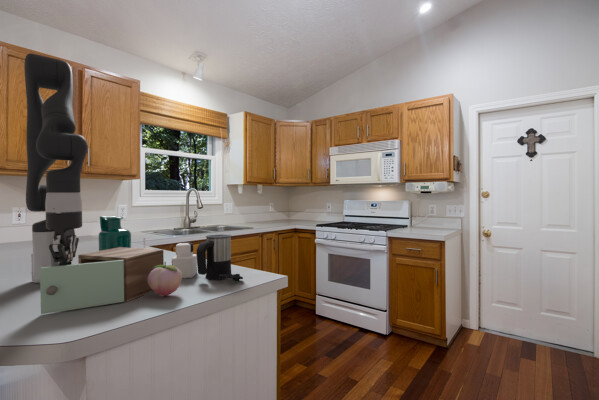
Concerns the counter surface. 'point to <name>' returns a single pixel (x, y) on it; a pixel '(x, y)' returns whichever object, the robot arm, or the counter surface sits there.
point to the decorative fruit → (164, 279)
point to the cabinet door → (81, 285)
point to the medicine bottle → (185, 259)
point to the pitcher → (113, 233)
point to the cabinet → (130, 266)
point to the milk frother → (216, 258)
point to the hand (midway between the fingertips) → (65, 276)
